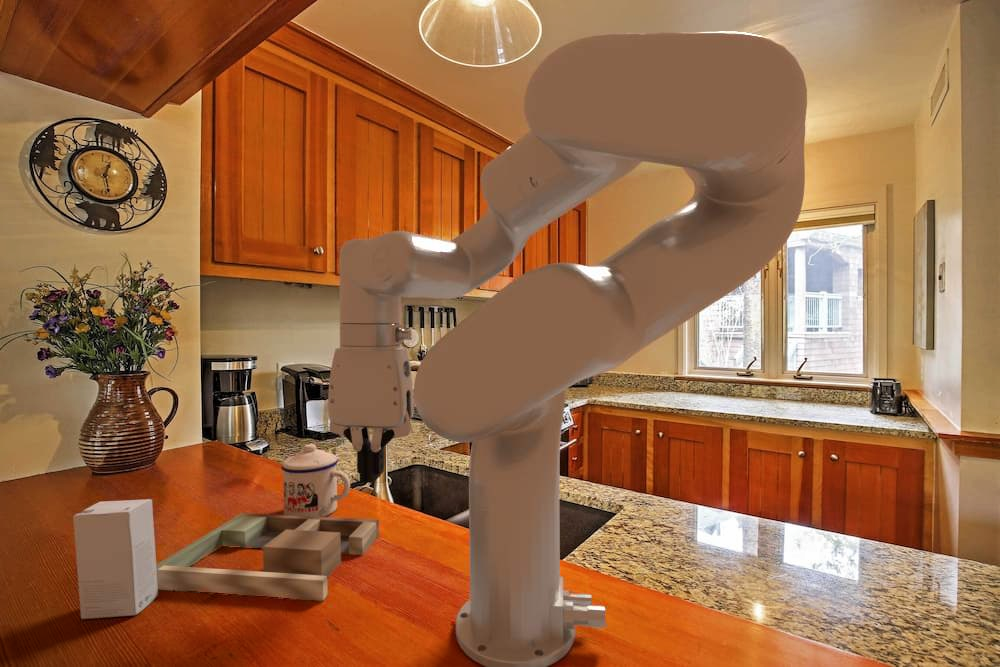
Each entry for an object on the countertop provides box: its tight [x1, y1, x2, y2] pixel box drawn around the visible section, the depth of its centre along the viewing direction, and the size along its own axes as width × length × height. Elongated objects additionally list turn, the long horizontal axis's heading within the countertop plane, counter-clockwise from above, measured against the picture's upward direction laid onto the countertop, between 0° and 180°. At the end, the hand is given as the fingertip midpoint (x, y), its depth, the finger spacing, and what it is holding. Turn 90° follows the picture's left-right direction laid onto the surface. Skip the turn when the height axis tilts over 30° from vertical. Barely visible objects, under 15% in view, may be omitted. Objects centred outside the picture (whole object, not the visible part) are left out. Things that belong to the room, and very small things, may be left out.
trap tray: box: [156, 512, 380, 602], centre depth 65 cm, size 23×17×2 cm
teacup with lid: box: [281, 443, 351, 517], centre depth 81 cm, size 12×9×12 cm
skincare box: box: [72, 498, 159, 620], centre depth 54 cm, size 6×4×12 cm
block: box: [262, 529, 342, 578], centre depth 62 cm, size 8×5×4 cm, turn 82°
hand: (370, 478), depth 60 cm, fingers closed
